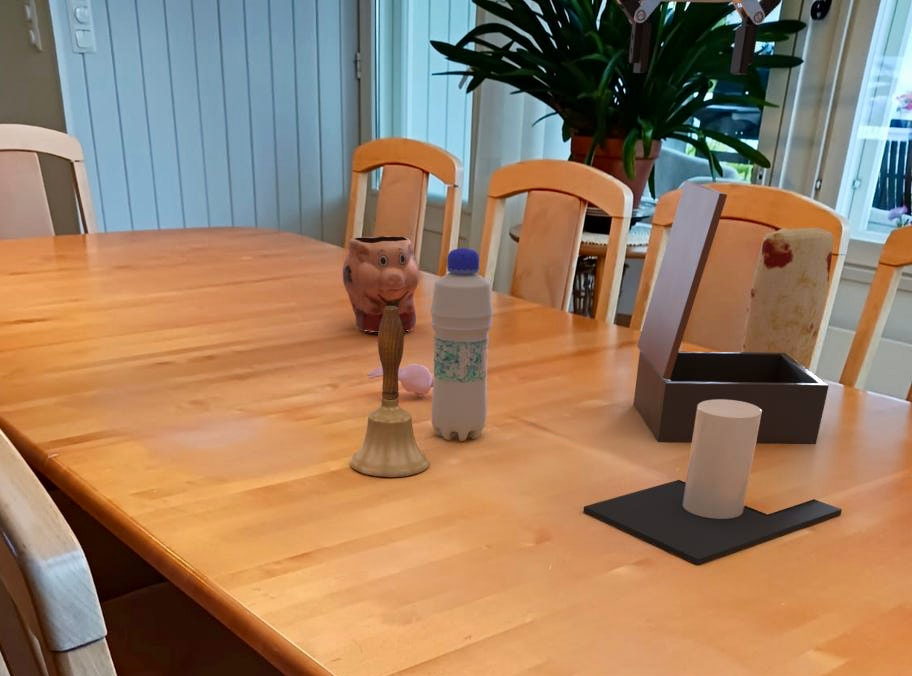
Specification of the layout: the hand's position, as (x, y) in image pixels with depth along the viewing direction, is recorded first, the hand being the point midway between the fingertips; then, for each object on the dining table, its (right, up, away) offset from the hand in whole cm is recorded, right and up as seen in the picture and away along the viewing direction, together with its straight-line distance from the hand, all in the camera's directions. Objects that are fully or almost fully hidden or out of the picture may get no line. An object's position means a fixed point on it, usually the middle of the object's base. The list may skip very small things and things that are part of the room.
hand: (689, 73), depth 94 cm
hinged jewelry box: (+9, -30, +20) cm, 37 cm away
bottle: (-22, -32, +17) cm, 42 cm away
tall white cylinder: (+1, -43, -3) cm, 43 cm away
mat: (+1, -43, -3) cm, 43 cm away
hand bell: (-29, -37, +8) cm, 48 cm away
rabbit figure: (-26, -24, +30) cm, 46 cm away
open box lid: (+2, -16, +11) cm, 20 cm away
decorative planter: (-33, -4, +65) cm, 73 cm away
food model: (+21, -21, +37) cm, 47 cm away
